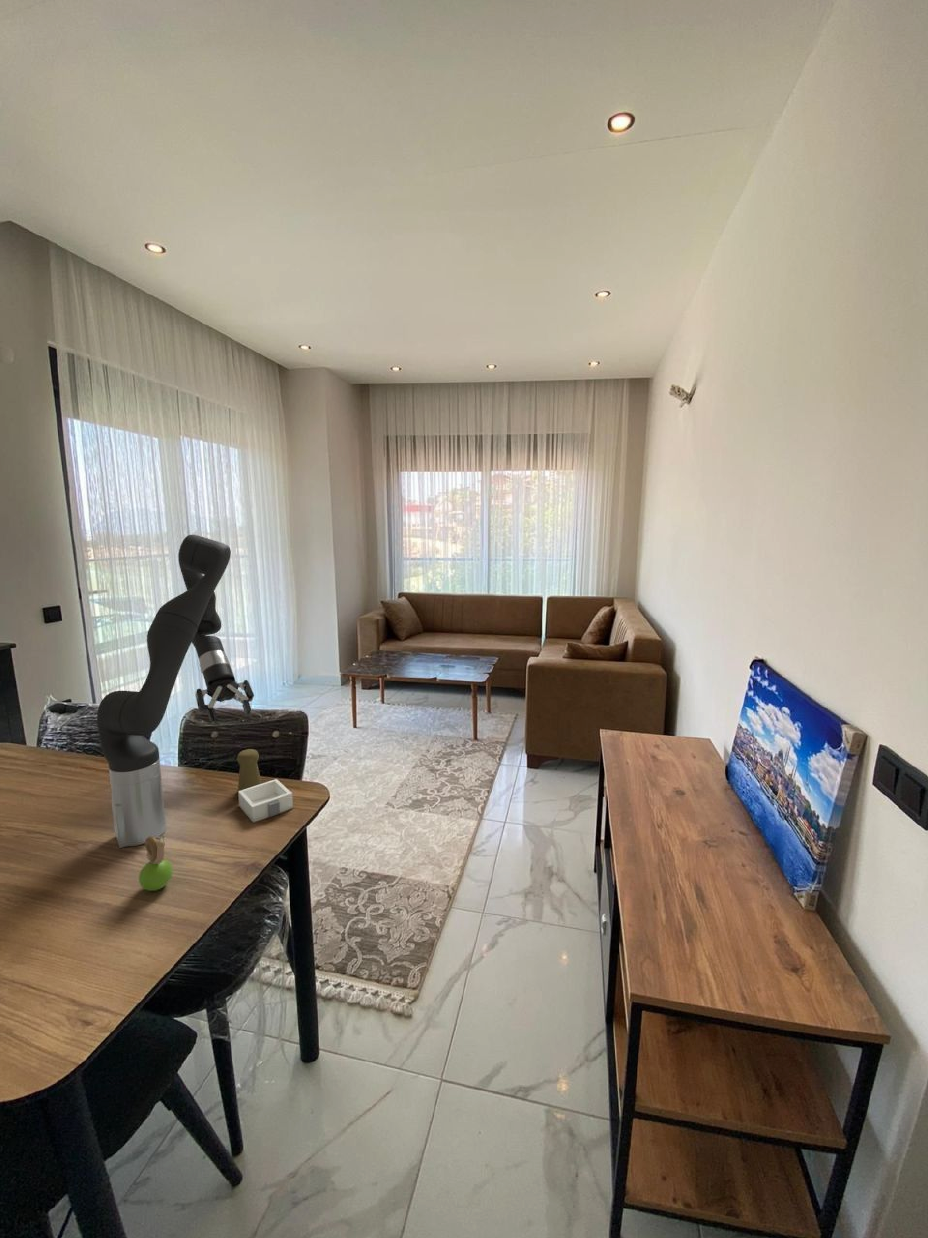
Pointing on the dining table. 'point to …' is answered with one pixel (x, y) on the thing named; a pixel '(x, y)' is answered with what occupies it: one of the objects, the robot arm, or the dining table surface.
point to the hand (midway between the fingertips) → (232, 718)
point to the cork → (248, 769)
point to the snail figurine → (155, 865)
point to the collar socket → (265, 800)
